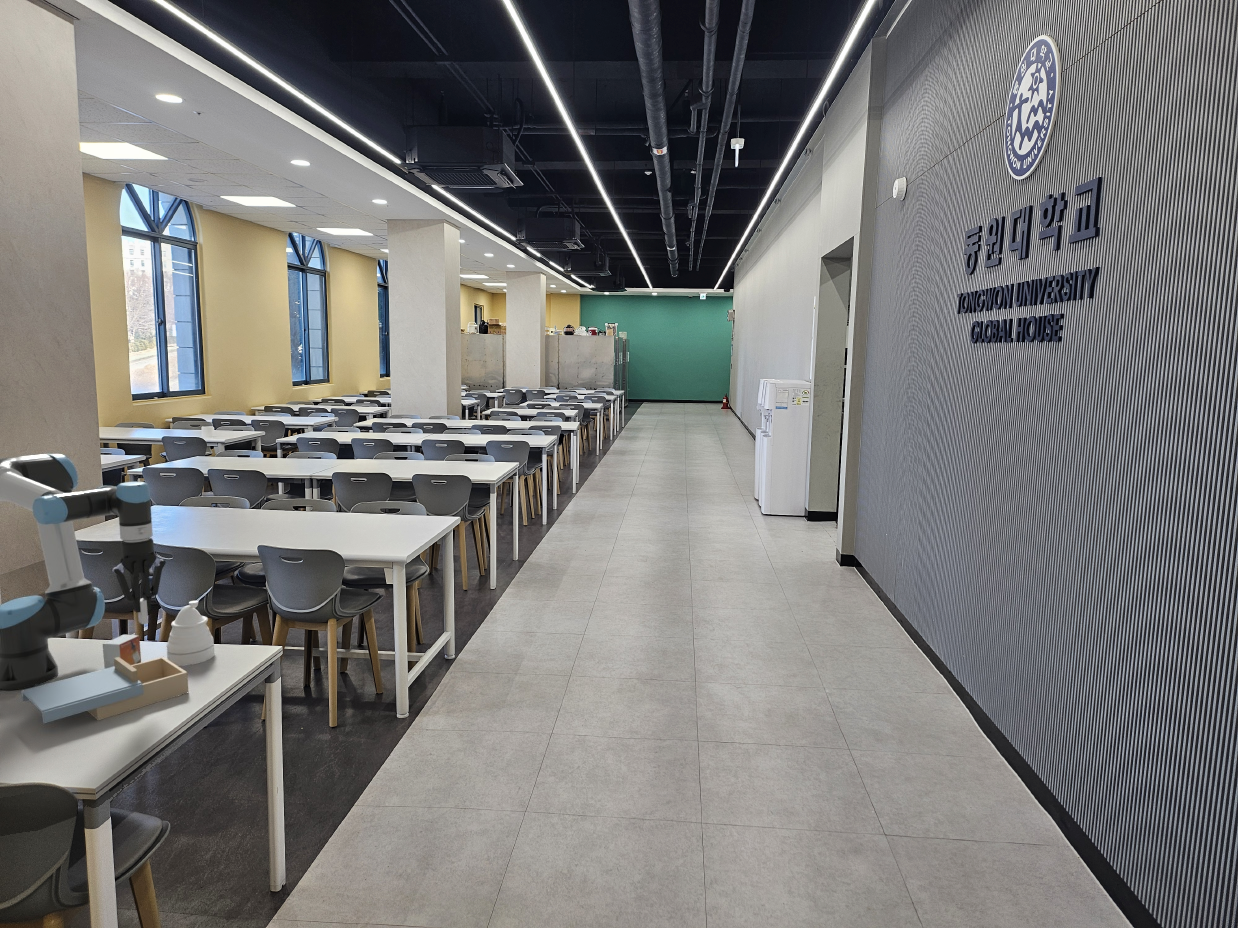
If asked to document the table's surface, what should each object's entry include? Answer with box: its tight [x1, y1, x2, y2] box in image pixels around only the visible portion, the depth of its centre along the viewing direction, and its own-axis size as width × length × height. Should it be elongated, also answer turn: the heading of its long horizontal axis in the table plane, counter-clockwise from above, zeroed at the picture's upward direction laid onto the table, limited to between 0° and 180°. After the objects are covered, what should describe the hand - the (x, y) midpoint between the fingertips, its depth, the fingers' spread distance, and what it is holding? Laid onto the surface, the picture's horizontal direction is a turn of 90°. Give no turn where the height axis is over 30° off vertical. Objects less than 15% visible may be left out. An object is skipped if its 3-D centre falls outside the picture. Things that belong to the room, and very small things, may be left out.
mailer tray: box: [87, 656, 190, 721], centre depth 213 cm, size 17×22×6 cm
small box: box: [102, 634, 142, 669], centre depth 229 cm, size 8×6×10 cm
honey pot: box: [166, 600, 215, 666], centre depth 241 cm, size 13×13×18 cm
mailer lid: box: [21, 657, 143, 724], centre depth 204 cm, size 19×22×6 cm
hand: (143, 622), depth 214 cm, fingers closed
